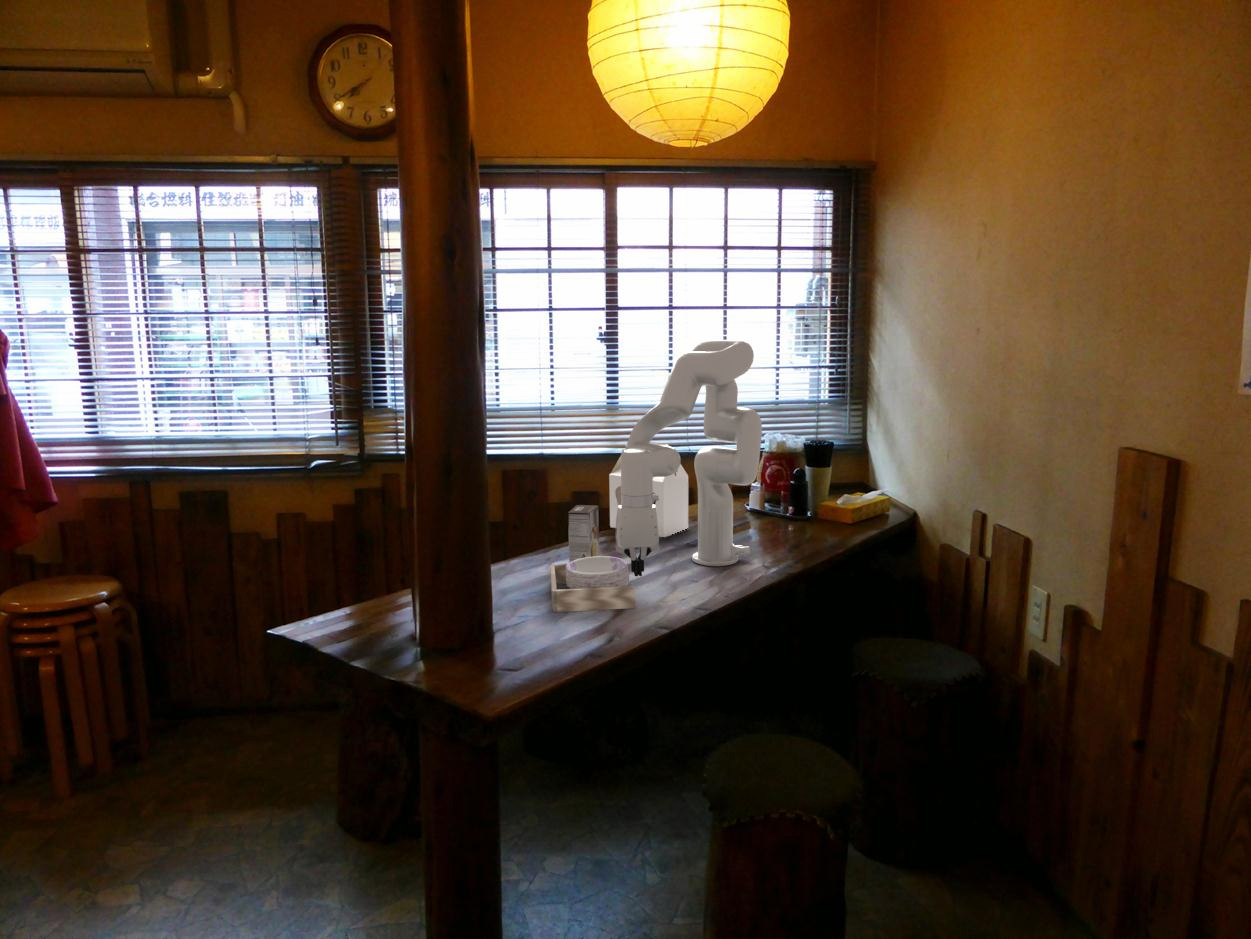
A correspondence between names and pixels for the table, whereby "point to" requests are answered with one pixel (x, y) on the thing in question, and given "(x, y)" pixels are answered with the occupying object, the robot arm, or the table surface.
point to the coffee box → (583, 532)
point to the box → (588, 595)
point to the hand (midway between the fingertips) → (637, 574)
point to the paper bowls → (597, 572)
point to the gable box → (670, 498)
